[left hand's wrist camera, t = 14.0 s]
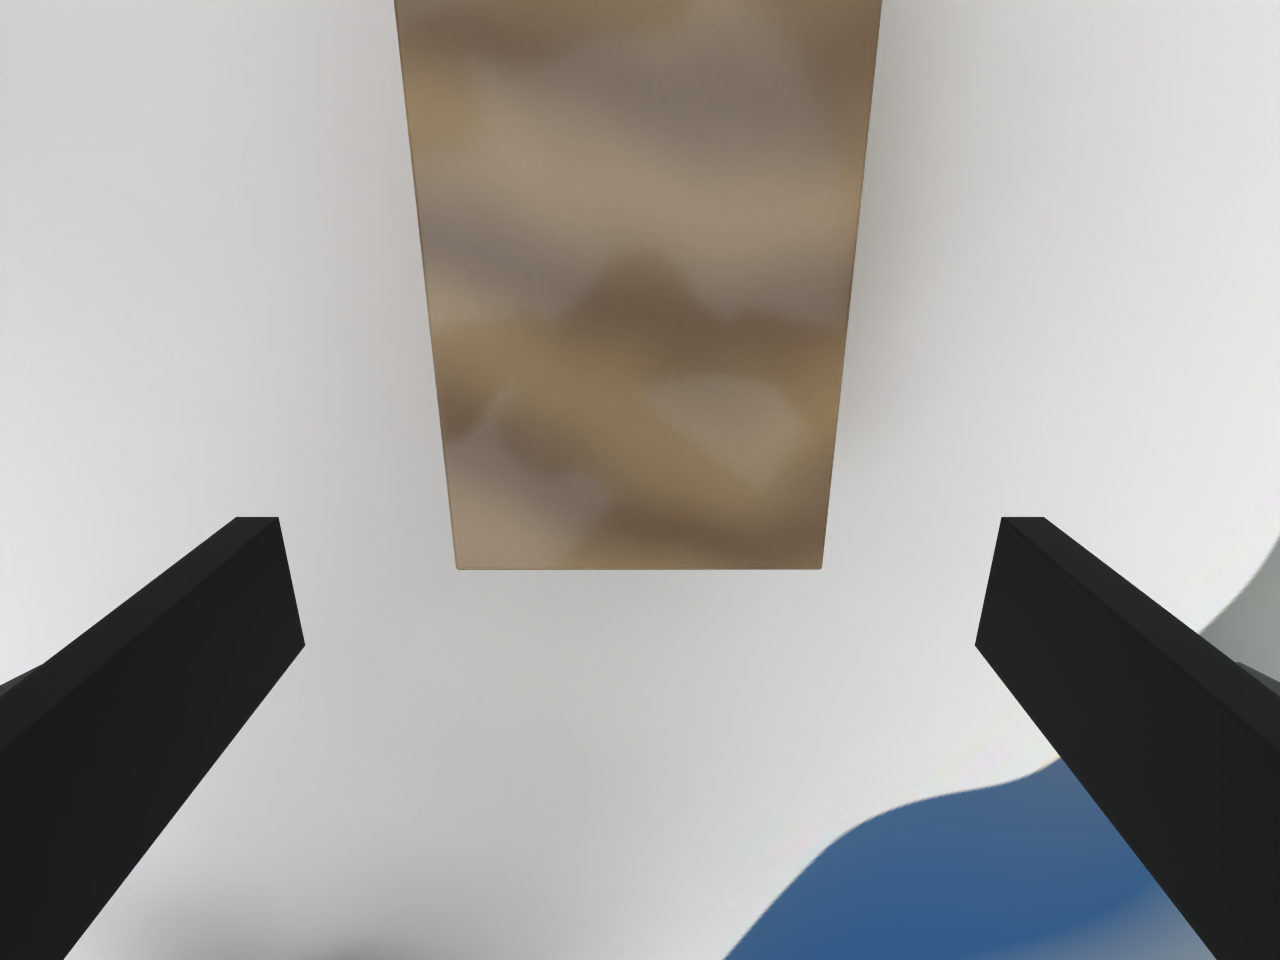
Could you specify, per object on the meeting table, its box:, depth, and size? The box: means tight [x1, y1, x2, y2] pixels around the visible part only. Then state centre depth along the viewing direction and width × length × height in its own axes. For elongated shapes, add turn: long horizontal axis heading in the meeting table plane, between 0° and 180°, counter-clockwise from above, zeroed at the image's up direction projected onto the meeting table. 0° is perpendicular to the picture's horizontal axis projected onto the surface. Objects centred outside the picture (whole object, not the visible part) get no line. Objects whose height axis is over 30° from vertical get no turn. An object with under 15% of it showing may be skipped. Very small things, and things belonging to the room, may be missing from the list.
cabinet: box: [394, 0, 882, 570], centre depth 21 cm, size 16×10×8 cm, turn 0°
